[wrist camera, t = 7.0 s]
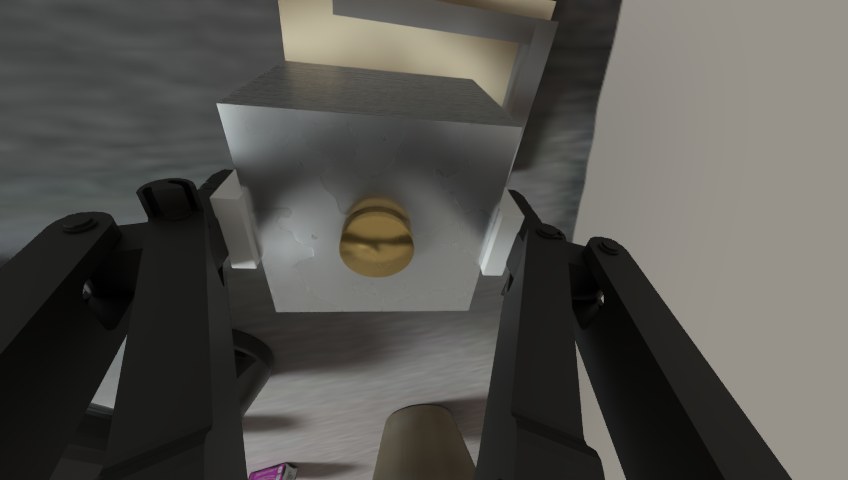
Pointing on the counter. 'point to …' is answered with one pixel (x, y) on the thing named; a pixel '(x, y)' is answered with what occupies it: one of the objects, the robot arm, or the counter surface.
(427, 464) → the plant pot
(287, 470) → the candy bar box
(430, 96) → the lock block
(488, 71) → the board
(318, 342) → the counter surface
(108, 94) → the counter surface
